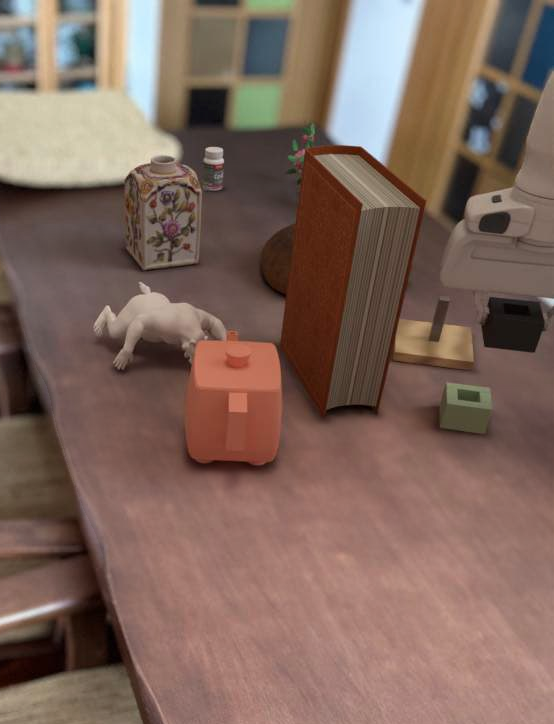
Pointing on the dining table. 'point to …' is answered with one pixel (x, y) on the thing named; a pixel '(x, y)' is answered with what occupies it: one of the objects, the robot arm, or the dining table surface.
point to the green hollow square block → (465, 408)
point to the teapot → (234, 401)
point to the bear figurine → (158, 324)
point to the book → (348, 274)
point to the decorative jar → (163, 214)
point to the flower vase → (299, 157)
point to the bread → (279, 258)
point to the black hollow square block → (513, 325)
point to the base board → (434, 341)
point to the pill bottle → (213, 168)
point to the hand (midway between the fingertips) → (510, 326)
